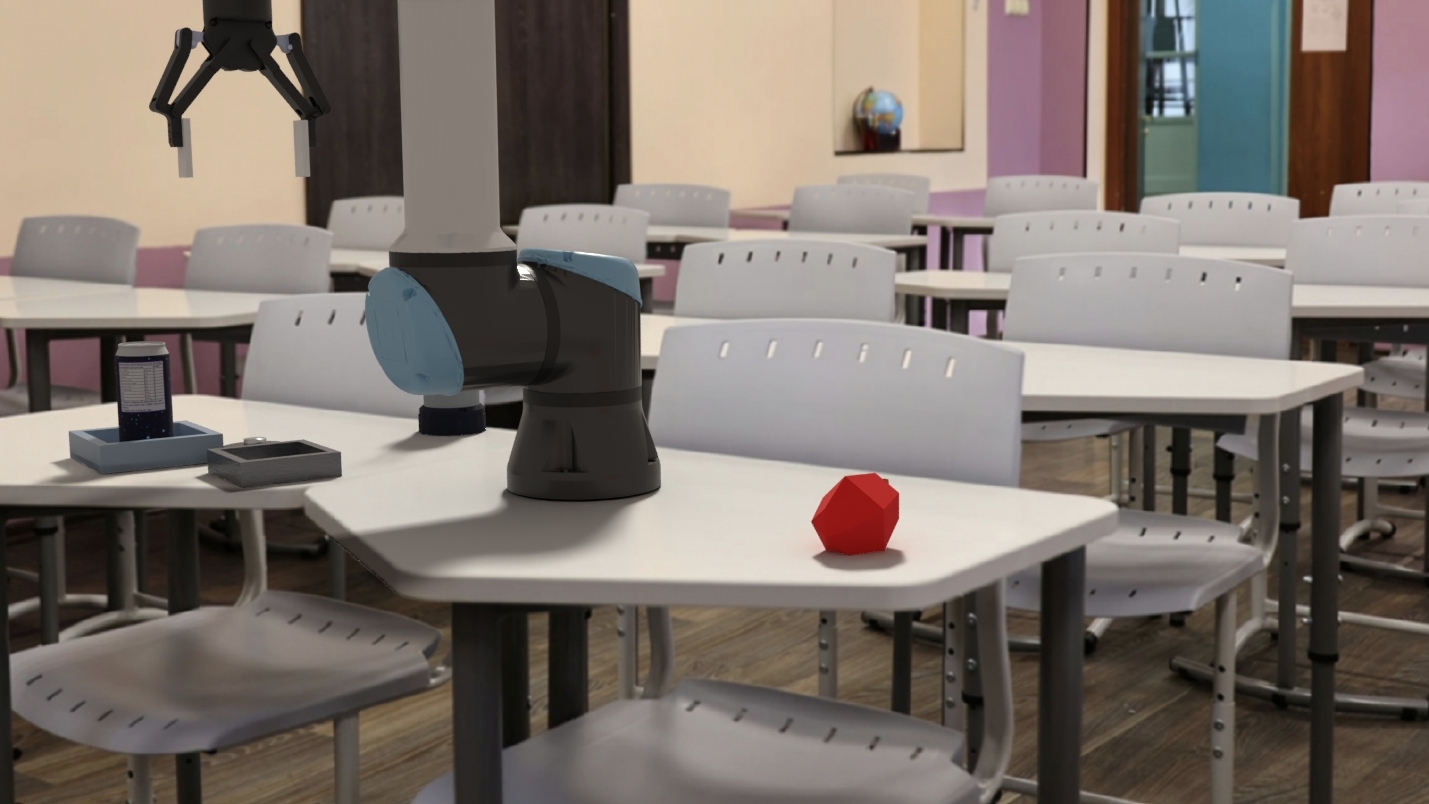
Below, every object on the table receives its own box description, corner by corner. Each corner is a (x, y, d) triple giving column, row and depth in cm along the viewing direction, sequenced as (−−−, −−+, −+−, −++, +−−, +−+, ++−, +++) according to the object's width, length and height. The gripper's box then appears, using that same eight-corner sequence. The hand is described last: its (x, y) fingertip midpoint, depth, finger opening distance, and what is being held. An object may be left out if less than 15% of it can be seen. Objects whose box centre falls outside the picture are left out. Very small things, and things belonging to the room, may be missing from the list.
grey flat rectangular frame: (341, 475, 167) (340, 450, 167) (241, 487, 161) (240, 461, 161) (282, 454, 181) (281, 431, 181) (188, 464, 175) (187, 440, 175)
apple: (836, 496, 126) (903, 449, 130) (783, 499, 131) (849, 454, 136) (871, 573, 127) (935, 524, 132) (817, 574, 133) (880, 527, 137)
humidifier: (464, 423, 203) (458, 223, 200) (498, 431, 197) (493, 223, 193) (406, 430, 198) (398, 224, 195) (439, 438, 192) (432, 225, 188)
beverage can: (185, 450, 180) (180, 342, 178) (144, 457, 175) (139, 346, 173) (149, 446, 182) (144, 340, 181) (108, 453, 177) (102, 344, 176)
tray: (224, 461, 177) (222, 433, 177) (101, 474, 170) (99, 445, 169) (187, 445, 188) (186, 420, 187) (70, 457, 180) (68, 431, 180)
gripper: (329, -4, 193) (336, 176, 196) (113, -17, 179) (124, 178, 182) (354, -10, 187) (361, 176, 190) (132, -24, 173) (144, 177, 176)
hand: (245, 177), depth 186 cm, fingers open, 13 cm apart
